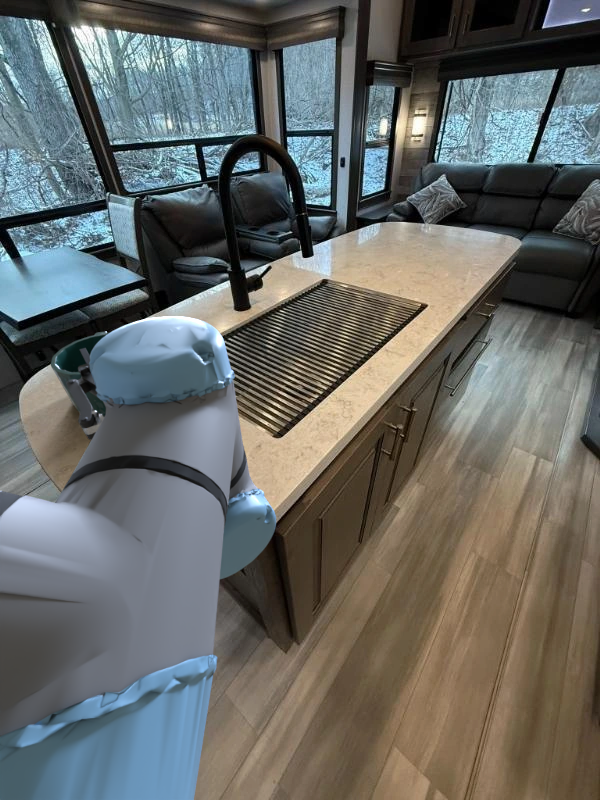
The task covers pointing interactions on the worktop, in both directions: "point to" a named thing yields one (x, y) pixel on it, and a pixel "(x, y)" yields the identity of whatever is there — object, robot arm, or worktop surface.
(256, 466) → the worktop surface
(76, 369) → the pot
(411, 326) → the worktop surface
